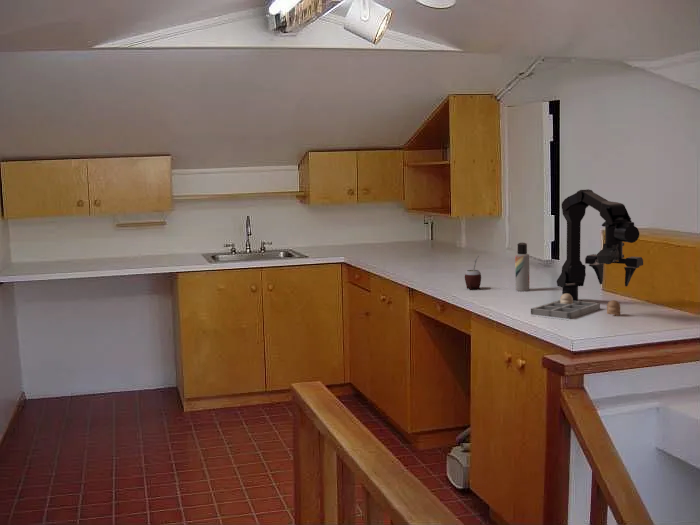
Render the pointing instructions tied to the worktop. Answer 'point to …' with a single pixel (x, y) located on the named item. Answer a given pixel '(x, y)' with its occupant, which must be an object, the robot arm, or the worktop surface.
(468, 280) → the mate gourd
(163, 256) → the worktop surface
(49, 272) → the worktop surface
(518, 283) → the lotion bottle
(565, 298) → the beige rounded cylinder
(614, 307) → the brown egg
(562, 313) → the grey egg tray
